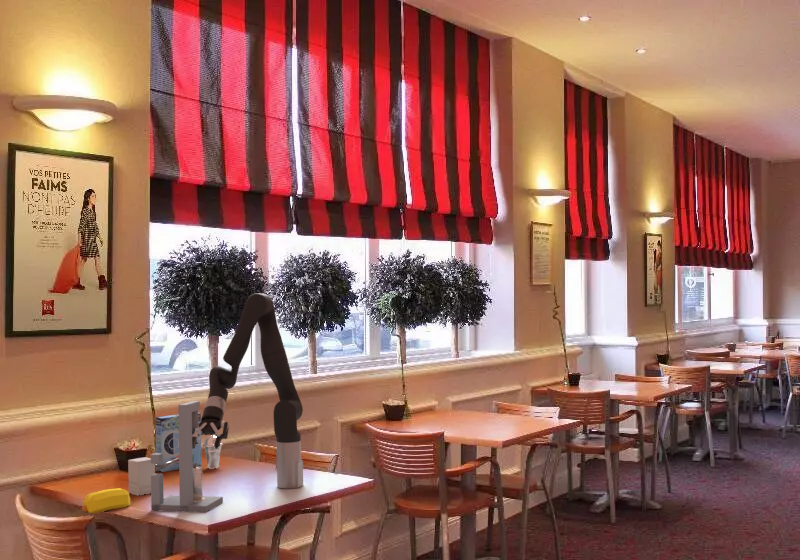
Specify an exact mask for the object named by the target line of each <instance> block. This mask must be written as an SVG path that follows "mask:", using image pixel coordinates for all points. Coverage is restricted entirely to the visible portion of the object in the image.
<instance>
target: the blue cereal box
mask: <svg viewBox="0 0 800 560" xmlns="http://www.w3.org/2000/svg"><path fill="white" fill-rule="evenodd" d="M201 418H202V414H201V412H198V424H199V423H200V422H201ZM198 428H199V427H198ZM198 428H197V429H198ZM195 432H196V430H195ZM201 432H202V431H200V433H201ZM155 442H156V443H155V453H163V462H162V463H159V464H157V465H161V464H163V463H166V462H168V461H171V460H173V459H176V457H177V456H178V455H179V419H178V414H172V415H170V414H169V415H164V416H155ZM192 457H193V463H197V466H202V464H203V463H202V437H199V438H198V439H197V442H196V446H195V449H193V448H192ZM176 470H179V463H175V464H173V465H171V466H168V467H166V468H163V469H161V470H160V471H161V472H160V473H165V472H170V471H176Z"/></svg>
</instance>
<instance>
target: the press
mask: <svg viewBox="0 0 800 560" xmlns="http://www.w3.org/2000/svg"><path fill="white" fill-rule="evenodd" d="M177 406H178V408H177V409H178V410H177V412H178V414H177V415H178V419H179V469H178V470H179V471H178V472H179V483H178V484H179V495H172V494H170V495H169V496H167V497H164V473H155V474H153V475H151V494H150V503H151V505H150V506H151V507H150V508H151V510H163V511H162V512H182V511H196V512H195V513H207V512H209V511H211V510H212V509H214V508H216V507H217V505H218V506H219V505H221V504H223V503H222V502H224V498H223V497H224V496H207V495H202V500H199V501H193V457H192V429H193V428H198V413H199V411H200V410H201V401H197V400H196V401H195V400H194V401H193V400H191V401H188V402H184V403H181V404H178V405H177ZM150 458H151V464H155V465H156V464H159V463H162V462H163V453H156V452H153V453H151V454H150ZM220 503H221V504H220ZM215 506H216V507H215ZM213 507H214V508H213ZM210 509H211V510H210ZM208 510H209V511H208ZM206 511H207V512H206Z"/></svg>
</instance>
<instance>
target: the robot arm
mask: <svg viewBox="0 0 800 560" xmlns="http://www.w3.org/2000/svg"><path fill="white" fill-rule="evenodd" d="M256 325H258V328H259V332H260V355H261V359H262V361H263V362H262V363H263V366H264V369H265V371H266V373H267V374H268V376H269V378H270V380H271V381H272V383H273V384H274V386H275V388H276V390H277V391H276V392H277V393H278V397H279V401H278V402H277V403H275V405H274V407H273V430H274V435H275V438H276V444H275V445H276V449H277V468H276V485H277V488H279V489H298V488H300V487H302V486H303V485H304V460H303V459H302V441H301V437H302V436H301V435H302V434H301V432H299V430H298V424H297V423H298V420H299V419H301V417H302V415H303V411H304V410H303V404H302V401H301V399H300V397H299V394H298V392H297V388H296V386H295V383H294V379H293V375H292V371H291V368H290V364H289V363H290V362H289V360H288V359H289V358H288V356H287V352H286V349H285V346H284V343H283V339H282V336H281V333H280V330H279V327H278V322H277V316H276V310H275V304H274V301H273V299H272V297H270V295H268V294H266V293H259V292H257V293H252V294H251V295H249V296H248V297H247V299H246V301H245V303H244V307H243V310H242V314H241V317H240V319H239V322H238V325H237V327H236V329H235V332H234V334H233V337H232V339H231V341H230V343H229V344H228V346H227V349H226V351H225V353H224V354H223V356H222V359H223V362H225V364H227V365H229V366H230V367H231V370H230V369H227V368H225V367H223V366H220V365H215V366H213V367H212V368H211V370H210V371H209V377H208V382H209V392H208V396H207V400H206V402H205V405H204V408H203V411H202V414H201V422H200V423H199V424H198V427H199V428H198V429H197V428H193V429H192V448H193V449H195V446H196V442H197V439H198V438H199V437H201V438H202V437H203V436H208V435H209V436H212V435H215V436H217V437H216V440H215V444H214V446H215V449H217V448H218V447H219V446H220V443H221V442H222V440H227V439H228V435H229V431H230V430H229V429H230V425H229V423H228V422H227V421H225V422H222V421H223V419H224V414H225V412H226V410H225V409H226V404H227V400H228V397H229V396H228V395H229V391H228V390H231V389H232V388H234V387H235V385H236V383H237V381H238V373H239V369H240V366H241V363H242V360H243V359H244V357H245V355H246V352H247V351H248V348H249V344H250V341H251V339H252V338H251V337H252V334H253V331H254V329H255V327H256ZM221 429H222V433H220V431H219V430H221ZM195 430H196V432H195ZM200 431H201V433H200Z"/></svg>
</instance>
